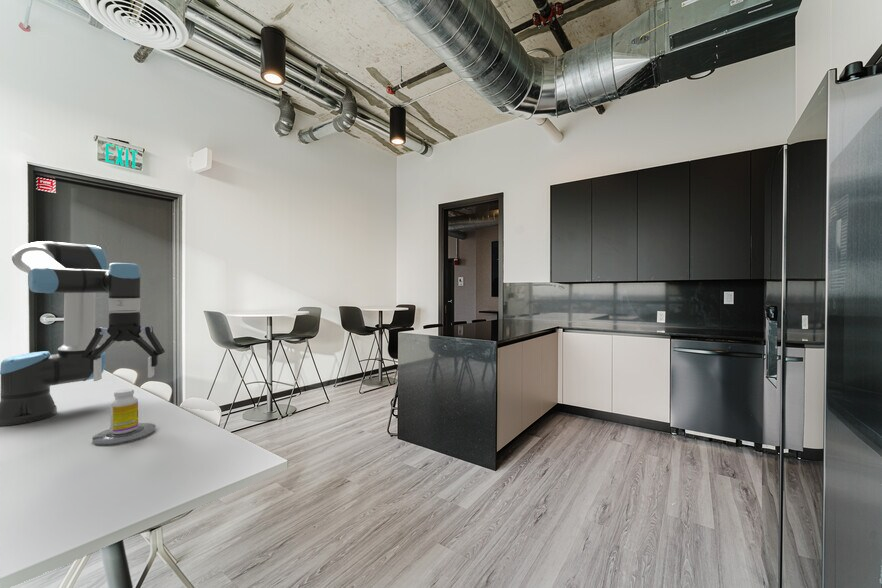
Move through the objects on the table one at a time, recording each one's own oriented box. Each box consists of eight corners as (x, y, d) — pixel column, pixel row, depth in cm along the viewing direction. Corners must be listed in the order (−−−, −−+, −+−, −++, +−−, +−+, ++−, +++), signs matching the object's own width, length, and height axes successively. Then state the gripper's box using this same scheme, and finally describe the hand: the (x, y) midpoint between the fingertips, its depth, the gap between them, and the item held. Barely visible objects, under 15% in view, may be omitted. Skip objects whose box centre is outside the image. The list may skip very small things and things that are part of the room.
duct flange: (77, 445, 105) (77, 441, 105) (122, 426, 120) (122, 422, 120) (128, 445, 105) (128, 440, 105) (167, 426, 120) (167, 422, 120)
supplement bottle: (142, 429, 113) (141, 389, 113) (115, 437, 108) (114, 395, 108) (133, 425, 117) (132, 386, 117) (107, 432, 111) (106, 391, 111)
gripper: (65, 313, 104) (66, 384, 104) (167, 311, 113) (167, 377, 113) (81, 311, 111) (81, 378, 111) (176, 310, 120) (176, 372, 120)
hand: (124, 378), depth 112 cm, fingers open, 13 cm apart
